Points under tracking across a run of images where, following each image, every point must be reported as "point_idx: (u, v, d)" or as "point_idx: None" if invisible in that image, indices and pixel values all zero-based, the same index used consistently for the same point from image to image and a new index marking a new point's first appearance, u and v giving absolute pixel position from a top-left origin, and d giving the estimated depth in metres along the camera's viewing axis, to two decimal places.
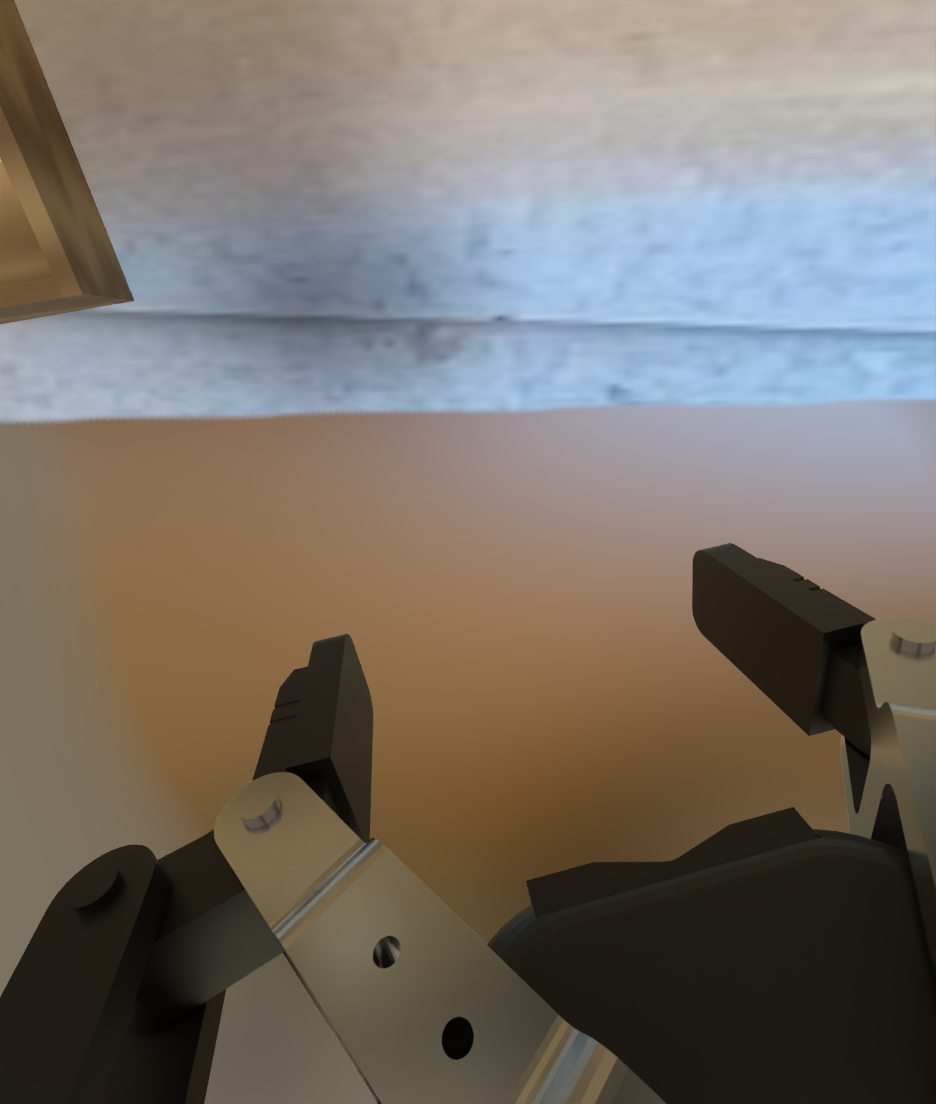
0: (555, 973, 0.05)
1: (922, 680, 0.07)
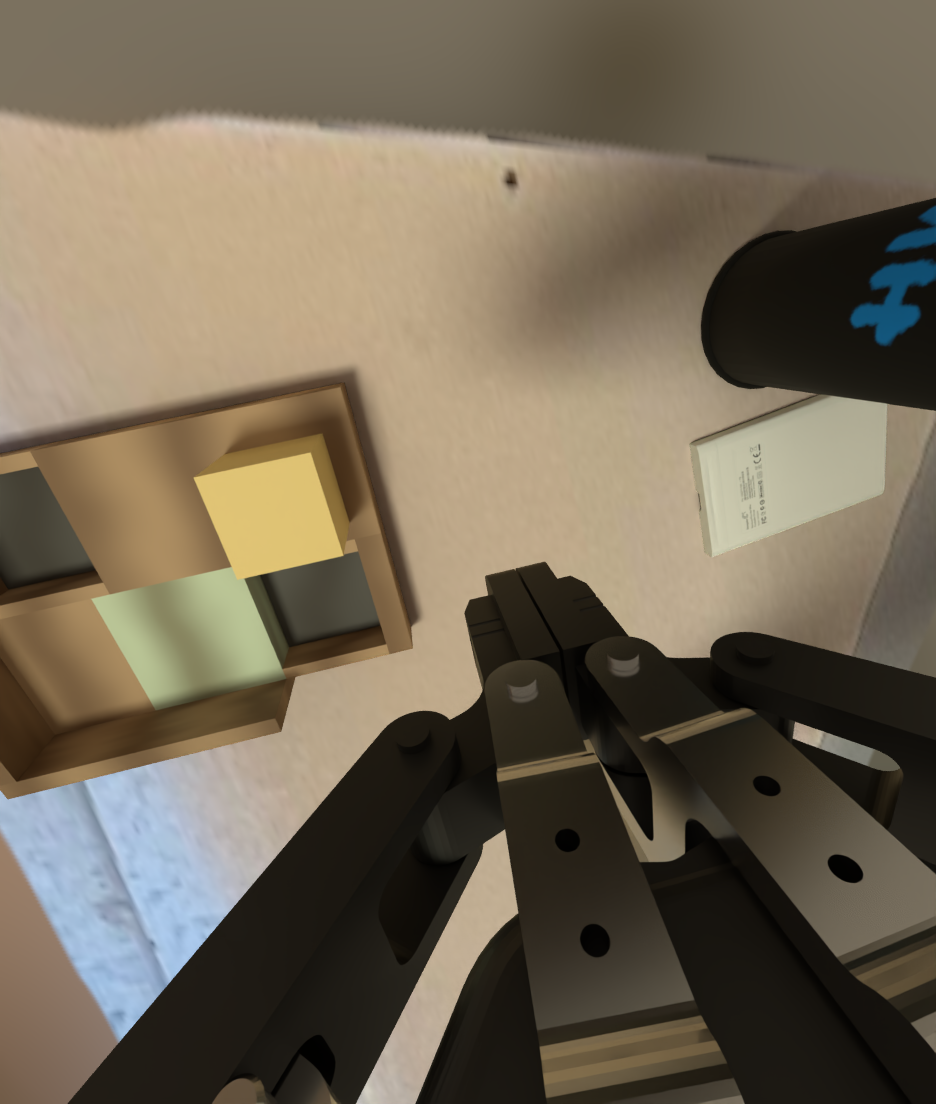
0: None
1: (605, 695, 0.07)
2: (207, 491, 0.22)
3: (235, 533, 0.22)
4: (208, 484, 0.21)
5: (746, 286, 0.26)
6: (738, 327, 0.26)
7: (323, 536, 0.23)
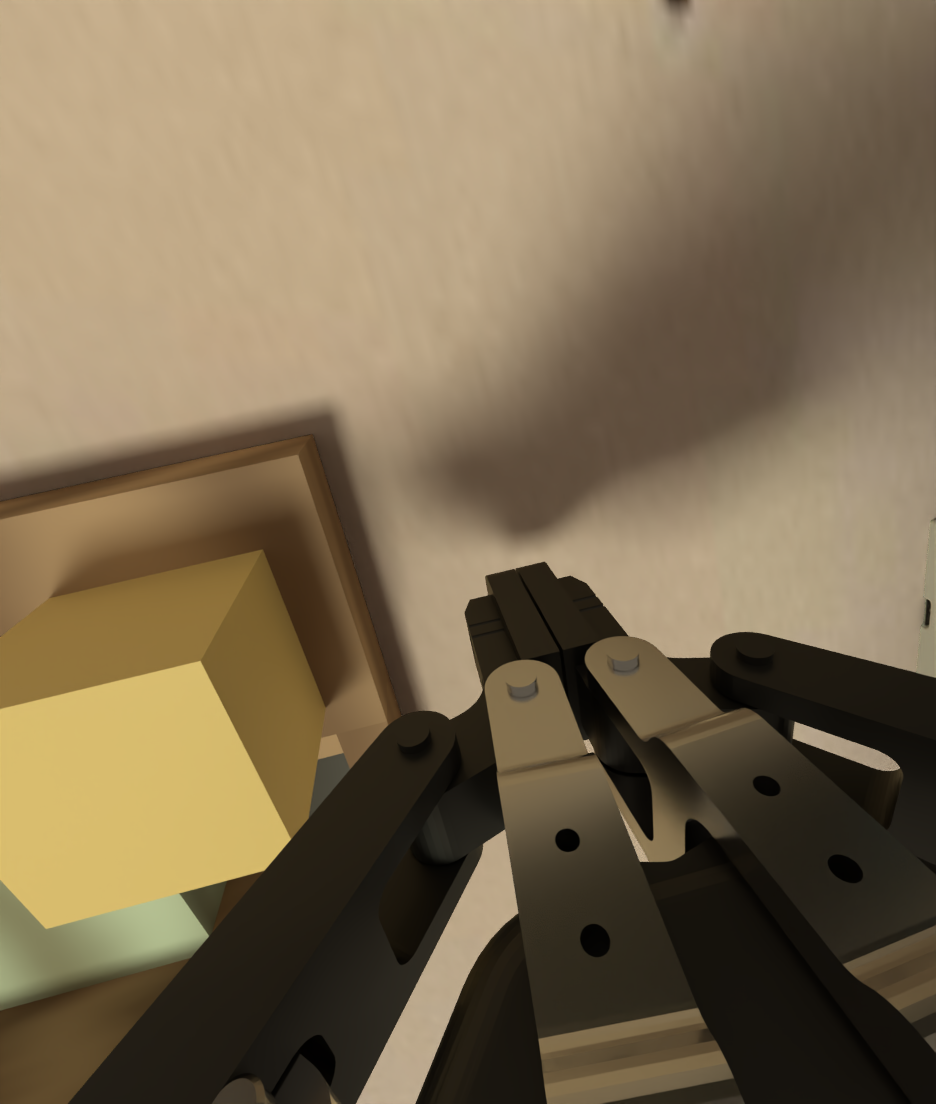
0: None
1: (605, 695, 0.07)
2: None
3: (23, 845, 0.09)
4: None
5: None
6: None
7: (250, 830, 0.10)
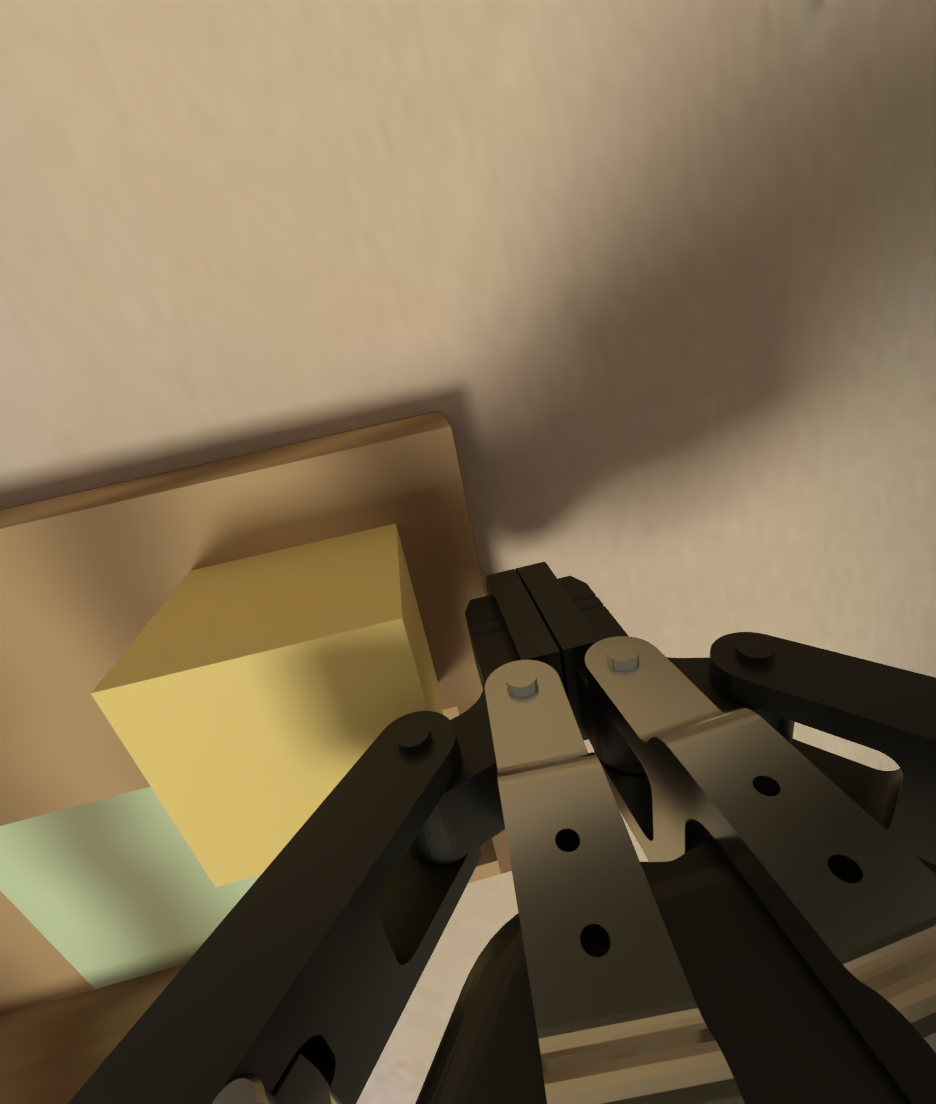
0: None
1: (605, 695, 0.07)
2: (131, 723, 0.08)
3: (209, 801, 0.09)
4: (133, 706, 0.08)
5: None
6: None
7: None
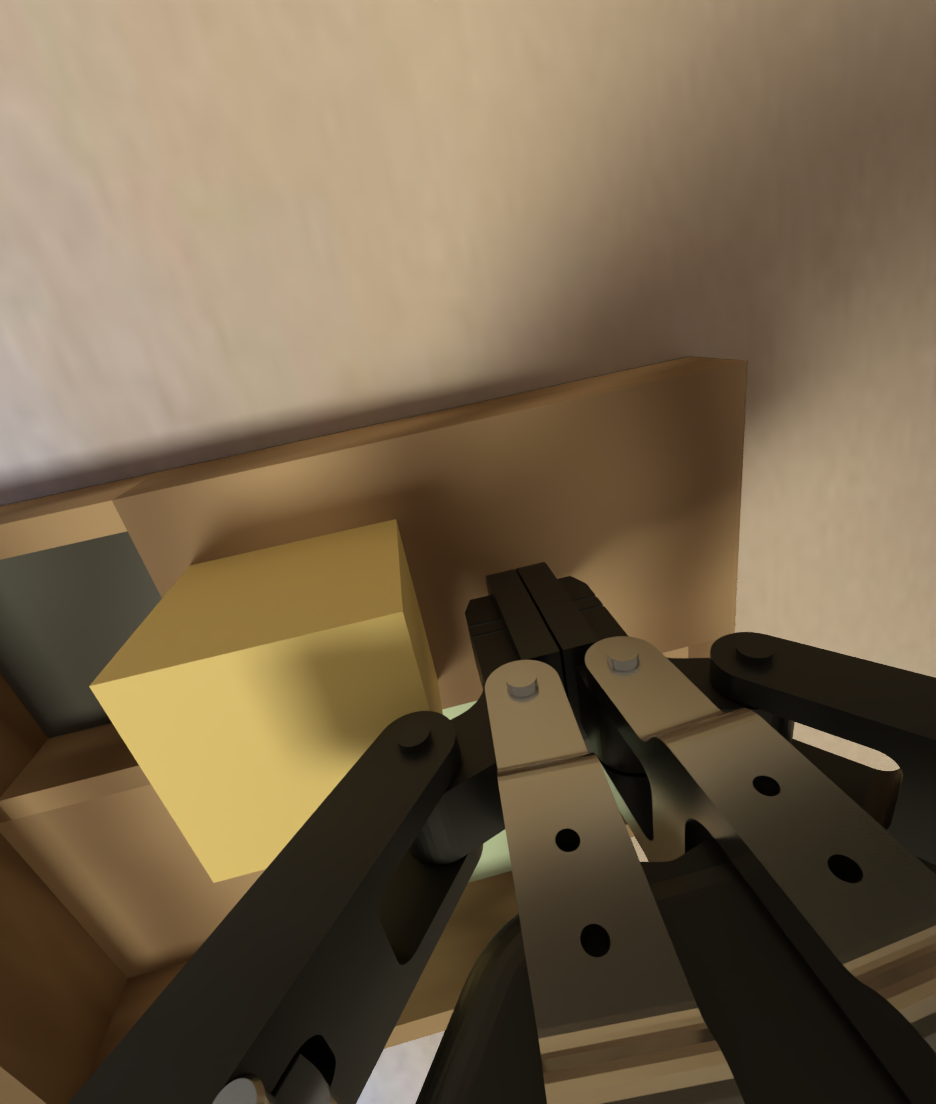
0: None
1: (605, 695, 0.07)
2: (129, 716, 0.08)
3: (207, 796, 0.09)
4: (131, 699, 0.08)
5: None
6: None
7: None
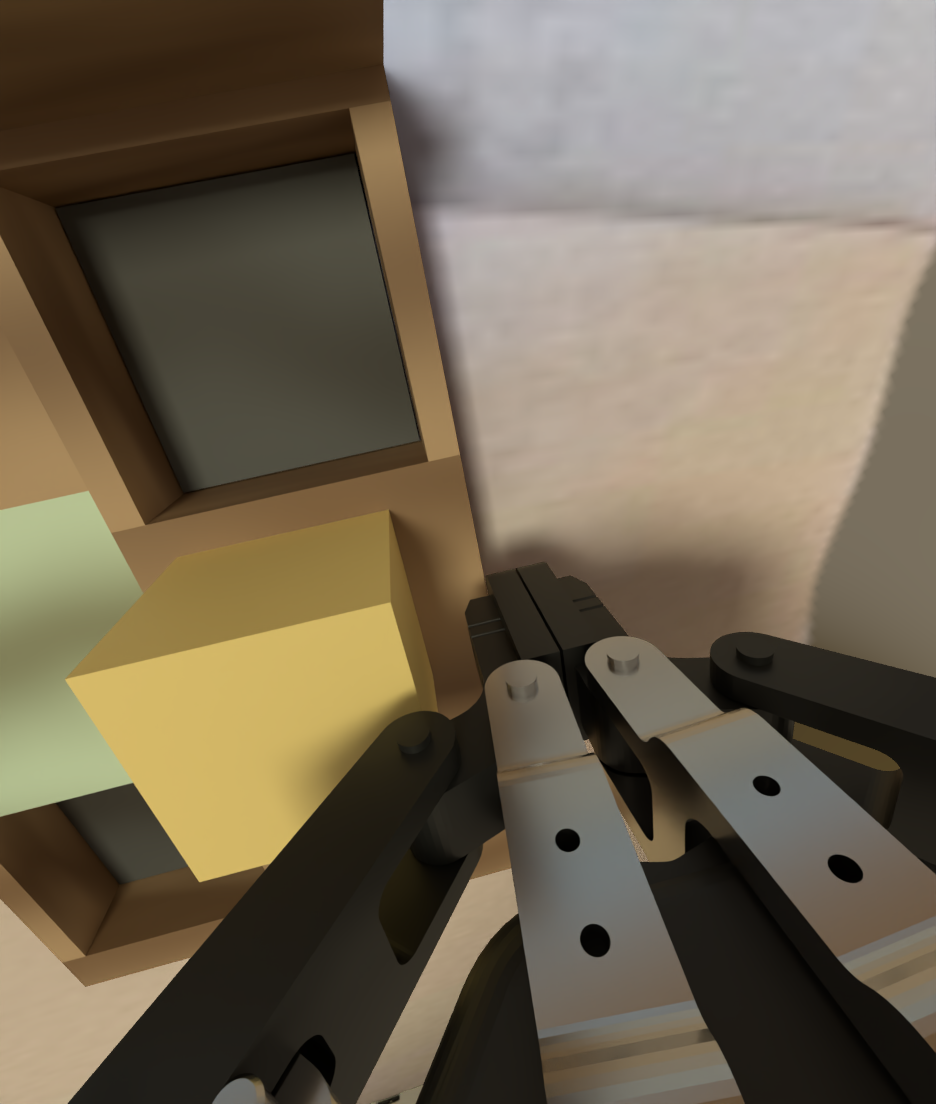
0: None
1: (605, 695, 0.07)
2: (351, 629, 0.08)
3: (231, 682, 0.08)
4: (372, 633, 0.08)
5: None
6: None
7: (247, 846, 0.09)
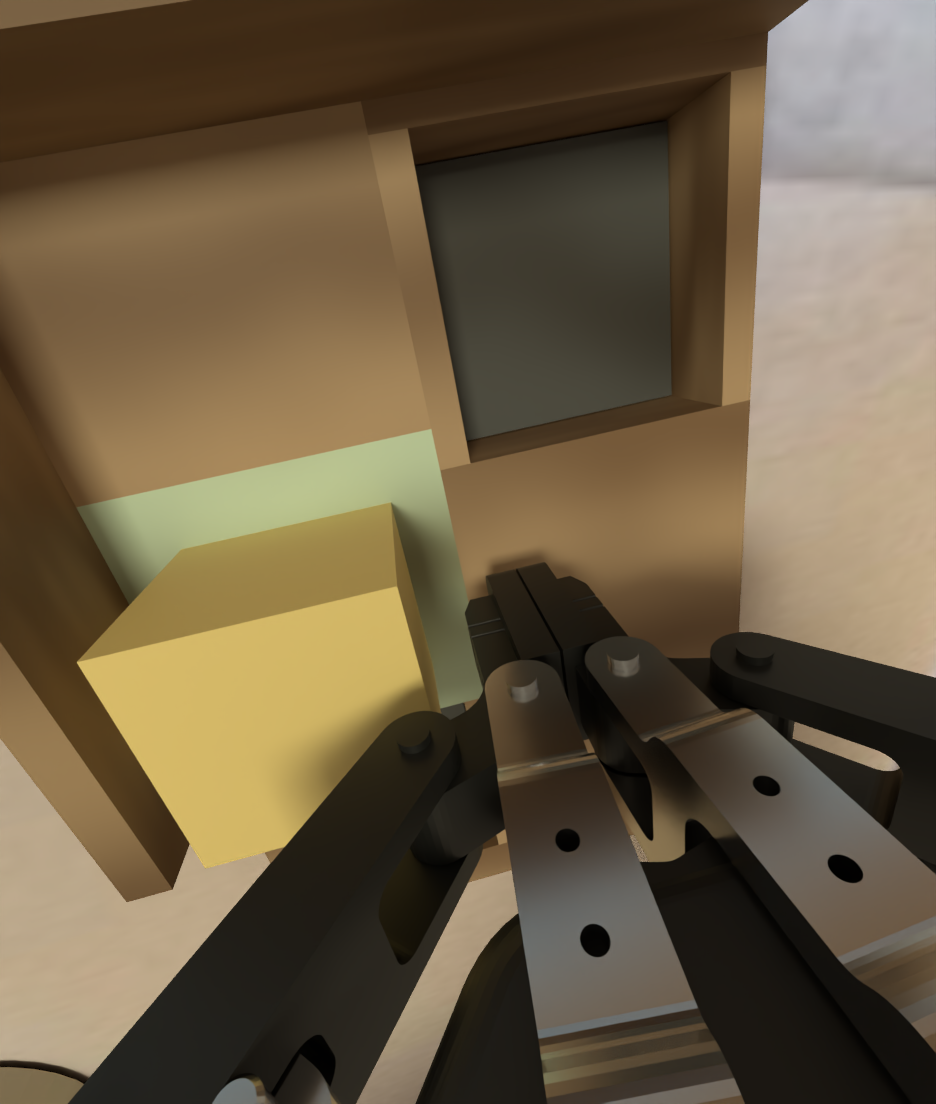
0: None
1: (605, 695, 0.07)
2: (358, 612, 0.08)
3: (240, 666, 0.08)
4: (378, 616, 0.08)
5: None
6: None
7: (254, 831, 0.10)
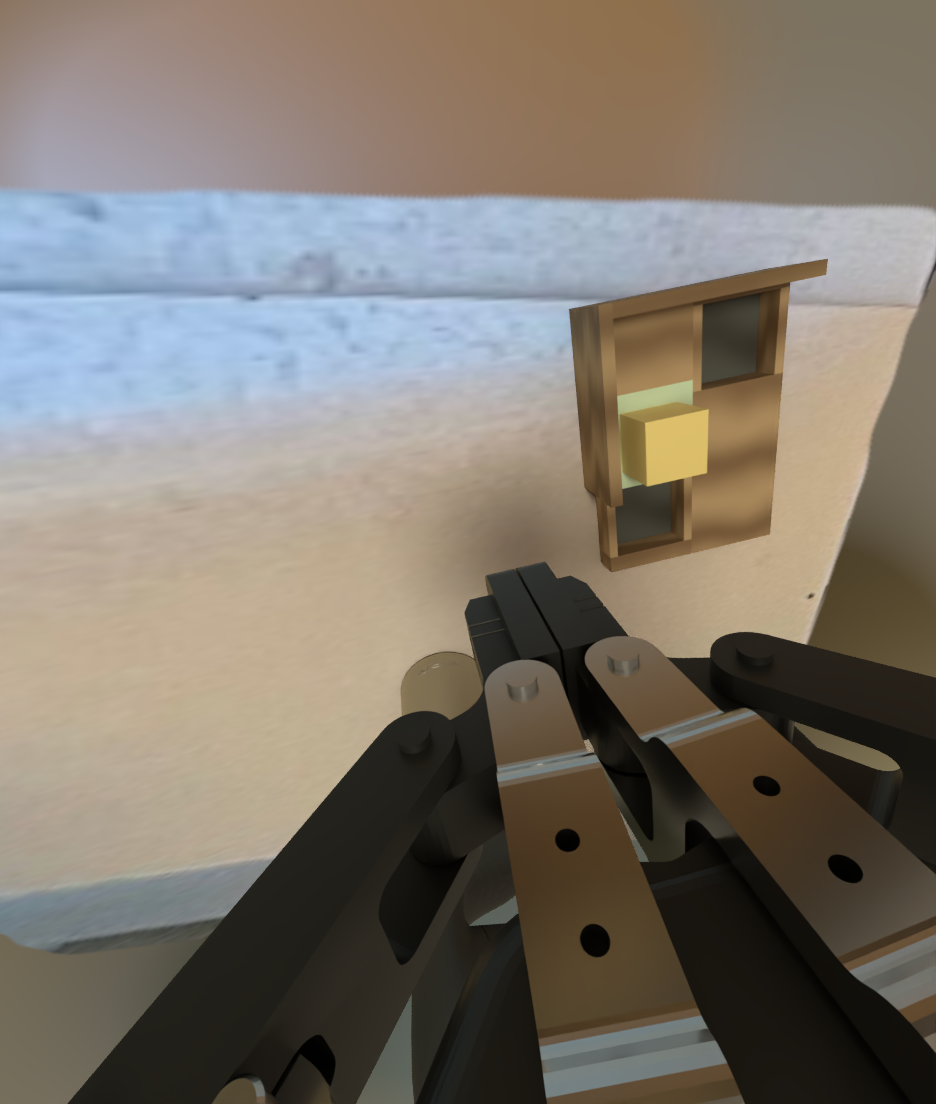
0: None
1: (605, 695, 0.07)
2: (699, 415, 0.38)
3: (673, 426, 0.38)
4: (703, 416, 0.38)
5: None
6: None
7: (660, 476, 0.39)
